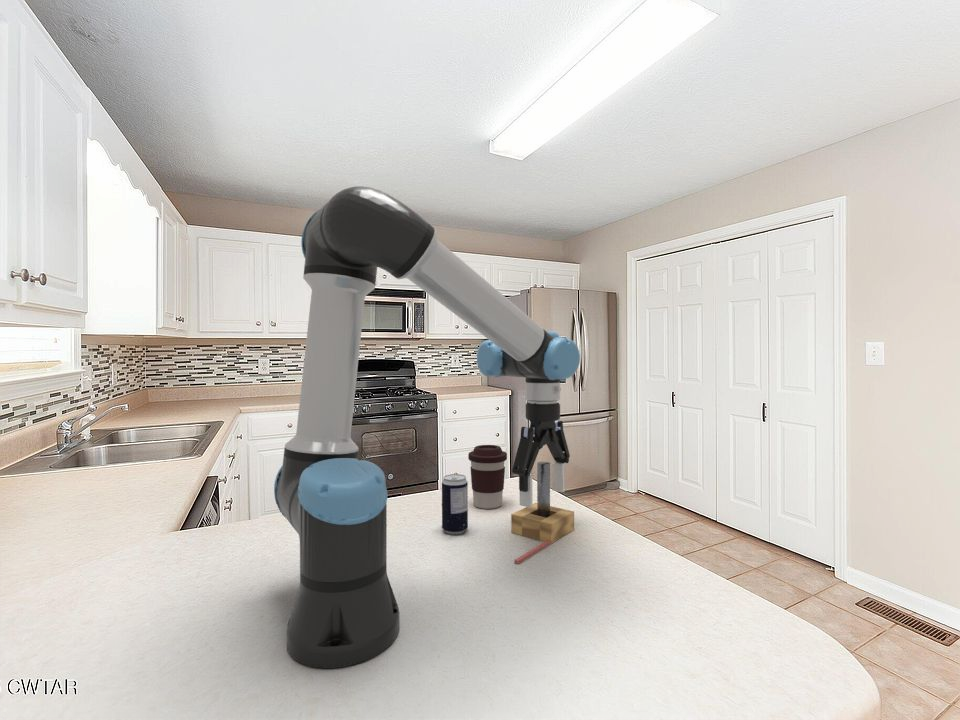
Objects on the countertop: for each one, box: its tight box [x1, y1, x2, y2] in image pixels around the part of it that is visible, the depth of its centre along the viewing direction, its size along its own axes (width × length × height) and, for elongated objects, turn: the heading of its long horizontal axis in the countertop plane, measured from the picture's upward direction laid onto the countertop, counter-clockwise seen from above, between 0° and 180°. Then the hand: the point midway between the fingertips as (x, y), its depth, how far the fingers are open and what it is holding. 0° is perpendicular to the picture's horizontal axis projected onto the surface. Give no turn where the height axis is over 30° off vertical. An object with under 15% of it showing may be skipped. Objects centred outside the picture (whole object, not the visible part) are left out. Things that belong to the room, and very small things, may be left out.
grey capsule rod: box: [536, 461, 551, 518], centre depth 104 cm, size 3×3×15 cm
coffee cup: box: [467, 444, 508, 510], centre depth 122 cm, size 10×10×15 cm
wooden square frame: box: [510, 502, 575, 545], centre depth 104 cm, size 10×10×4 cm
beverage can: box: [441, 473, 469, 536], centre depth 104 cm, size 6×6×12 cm
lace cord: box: [514, 540, 552, 565], centre depth 93 cm, size 12×1×1 cm, turn 141°
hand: (542, 498), depth 104 cm, fingers open, 13 cm apart
